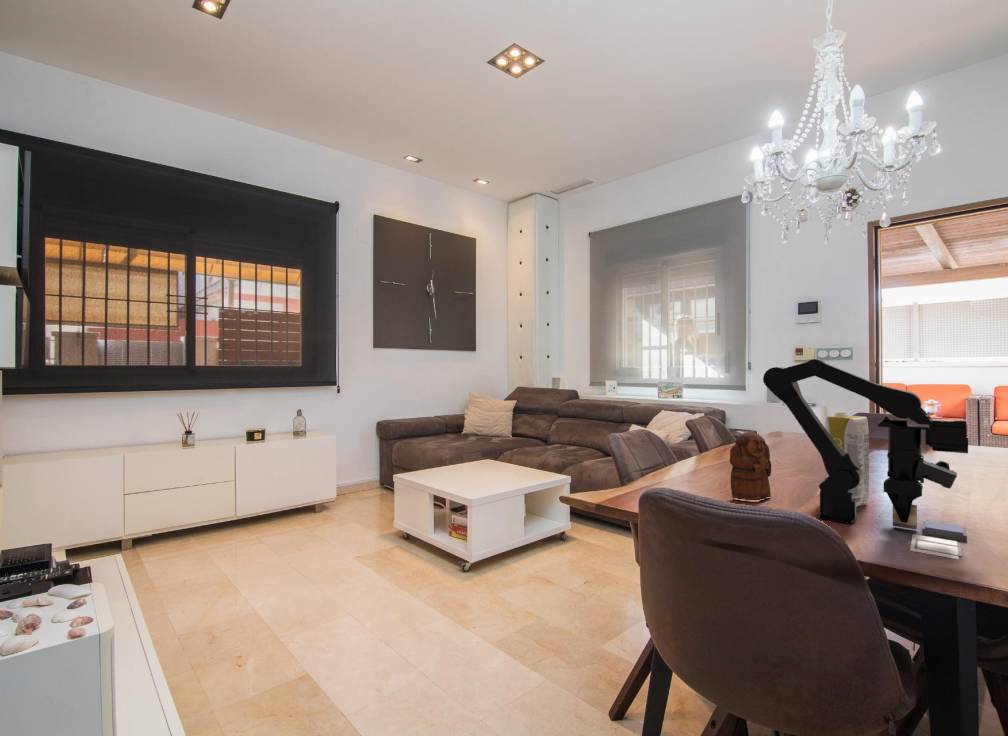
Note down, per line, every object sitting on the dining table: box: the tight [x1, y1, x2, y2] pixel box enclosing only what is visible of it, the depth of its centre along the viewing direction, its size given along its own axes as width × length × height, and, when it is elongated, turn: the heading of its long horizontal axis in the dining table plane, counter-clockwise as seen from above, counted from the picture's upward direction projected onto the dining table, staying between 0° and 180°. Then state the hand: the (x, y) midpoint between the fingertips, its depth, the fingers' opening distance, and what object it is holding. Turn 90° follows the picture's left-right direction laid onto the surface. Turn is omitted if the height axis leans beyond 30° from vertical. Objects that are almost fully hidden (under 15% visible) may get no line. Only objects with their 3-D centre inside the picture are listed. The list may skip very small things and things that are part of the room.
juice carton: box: [824, 411, 870, 508], centre depth 130 cm, size 9×8×24 cm
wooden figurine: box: [729, 432, 772, 500], centre depth 135 cm, size 12×6×18 cm, turn 119°
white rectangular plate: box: [909, 533, 962, 560], centre depth 99 cm, size 7×12×1 cm, turn 139°
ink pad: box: [921, 520, 968, 543], centre depth 107 cm, size 7×7×2 cm
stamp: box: [892, 504, 918, 531], centre depth 109 cm, size 4×4×6 cm
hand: (904, 519), depth 109 cm, fingers closed on stamp, 4 cm apart
